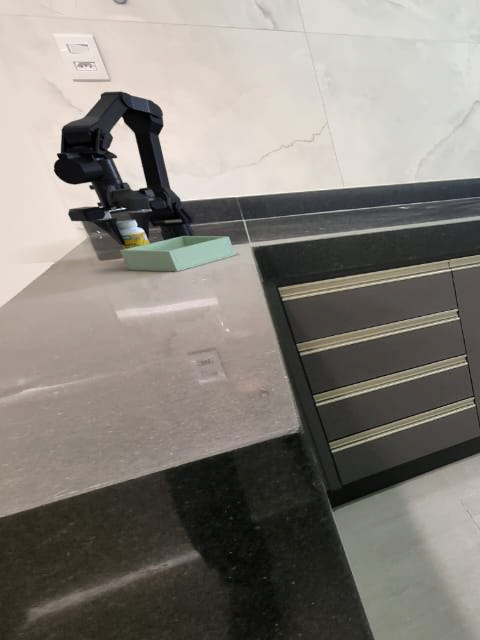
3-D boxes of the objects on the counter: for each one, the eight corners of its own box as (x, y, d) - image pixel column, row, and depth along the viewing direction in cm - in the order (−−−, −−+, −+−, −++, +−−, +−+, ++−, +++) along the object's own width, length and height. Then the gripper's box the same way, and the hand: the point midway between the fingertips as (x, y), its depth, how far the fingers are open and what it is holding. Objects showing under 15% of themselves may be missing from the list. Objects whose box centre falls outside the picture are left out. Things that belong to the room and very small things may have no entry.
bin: (190, 253, 144) (182, 236, 142) (235, 254, 141) (228, 236, 139) (128, 269, 131) (119, 250, 129) (177, 271, 127) (168, 251, 125)
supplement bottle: (156, 254, 142) (140, 218, 138) (153, 258, 138) (137, 221, 134) (130, 257, 139) (113, 221, 135) (127, 261, 135) (109, 224, 131)
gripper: (86, 184, 120) (118, 252, 127) (169, 174, 136) (194, 234, 143) (51, 185, 123) (85, 251, 129) (136, 175, 139) (162, 234, 146)
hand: (135, 242), depth 137 cm, fingers closed on supplement bottle, 5 cm apart
